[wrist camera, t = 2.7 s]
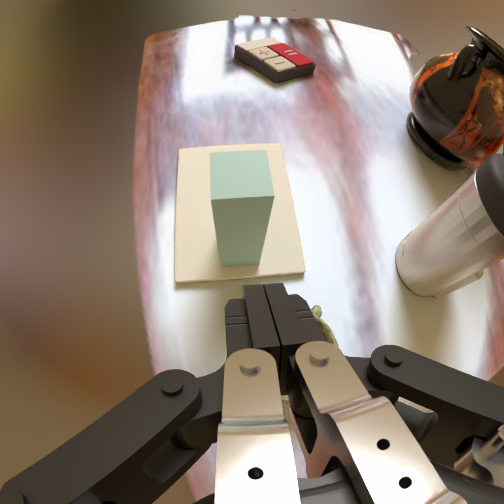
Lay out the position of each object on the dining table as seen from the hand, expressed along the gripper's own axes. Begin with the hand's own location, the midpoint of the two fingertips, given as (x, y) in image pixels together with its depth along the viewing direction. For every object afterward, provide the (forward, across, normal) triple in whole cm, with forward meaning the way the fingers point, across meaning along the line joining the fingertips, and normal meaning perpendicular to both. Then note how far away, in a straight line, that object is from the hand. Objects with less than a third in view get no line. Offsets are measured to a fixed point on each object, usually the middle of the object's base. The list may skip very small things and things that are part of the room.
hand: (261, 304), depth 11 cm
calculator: (+53, -11, -24) cm, 60 cm away
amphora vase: (+37, -43, -9) cm, 57 cm away
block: (+21, 0, +6) cm, 22 cm away
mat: (+26, 0, +2) cm, 27 cm away
